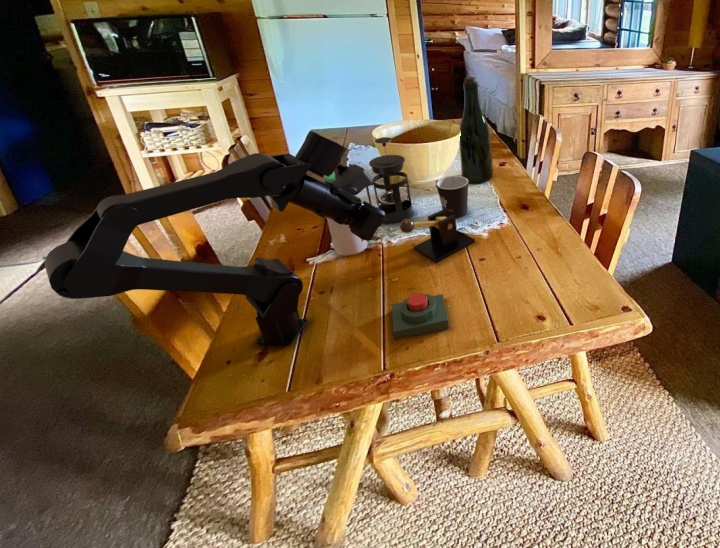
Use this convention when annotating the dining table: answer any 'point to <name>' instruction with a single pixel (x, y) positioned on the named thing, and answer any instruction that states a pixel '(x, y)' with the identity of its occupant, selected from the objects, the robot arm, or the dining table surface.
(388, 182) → the french press
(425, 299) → the button
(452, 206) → the coffee mug
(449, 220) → the lever switch
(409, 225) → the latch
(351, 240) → the milk bottle
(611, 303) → the dining table surface
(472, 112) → the wine bottle
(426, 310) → the button box
